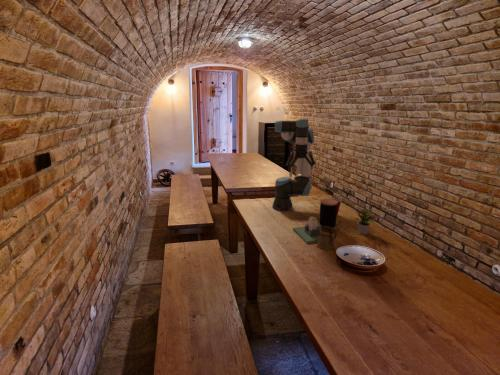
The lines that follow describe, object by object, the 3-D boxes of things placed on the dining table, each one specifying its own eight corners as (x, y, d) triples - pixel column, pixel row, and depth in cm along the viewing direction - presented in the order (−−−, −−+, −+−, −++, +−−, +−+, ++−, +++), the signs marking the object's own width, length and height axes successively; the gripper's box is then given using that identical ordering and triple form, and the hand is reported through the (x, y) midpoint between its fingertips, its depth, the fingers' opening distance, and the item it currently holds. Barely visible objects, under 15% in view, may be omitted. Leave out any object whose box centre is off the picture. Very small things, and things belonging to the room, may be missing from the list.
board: (292, 230, 201) (293, 222, 199) (315, 227, 205) (315, 219, 204) (307, 243, 182) (307, 235, 181) (331, 240, 187) (332, 231, 185)
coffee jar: (334, 224, 209) (336, 199, 204) (336, 231, 199) (339, 204, 194) (317, 224, 210) (319, 198, 205) (319, 230, 200) (321, 204, 195)
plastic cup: (332, 211, 232) (333, 196, 229) (343, 215, 224) (345, 199, 221) (321, 214, 226) (322, 198, 223) (333, 219, 218) (334, 203, 215)
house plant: (356, 238, 188) (358, 213, 184) (345, 229, 202) (347, 205, 197) (378, 237, 191) (381, 211, 186) (366, 227, 204) (369, 204, 199)
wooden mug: (334, 254, 170) (337, 223, 165) (313, 246, 180) (315, 216, 175) (343, 248, 176) (345, 219, 171) (322, 241, 186) (324, 212, 181)
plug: (308, 231, 195) (308, 216, 192) (312, 231, 196) (313, 216, 193) (311, 234, 190) (312, 219, 188) (316, 234, 191) (317, 218, 188)
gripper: (285, 145, 194) (284, 178, 200) (321, 143, 201) (319, 175, 207) (281, 143, 200) (280, 176, 207) (316, 142, 207) (314, 173, 213)
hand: (300, 176), depth 207 cm, fingers open, 13 cm apart
